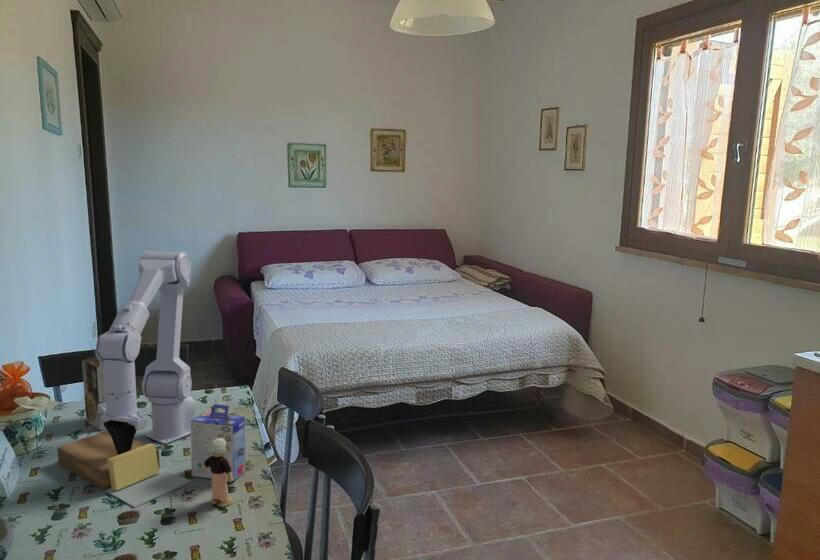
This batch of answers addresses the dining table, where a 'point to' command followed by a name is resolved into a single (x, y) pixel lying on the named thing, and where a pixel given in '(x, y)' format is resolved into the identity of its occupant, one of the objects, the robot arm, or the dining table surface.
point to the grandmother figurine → (219, 472)
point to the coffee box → (93, 391)
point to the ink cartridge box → (209, 430)
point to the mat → (149, 488)
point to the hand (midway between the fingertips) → (124, 453)
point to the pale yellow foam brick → (133, 466)
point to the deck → (92, 458)
